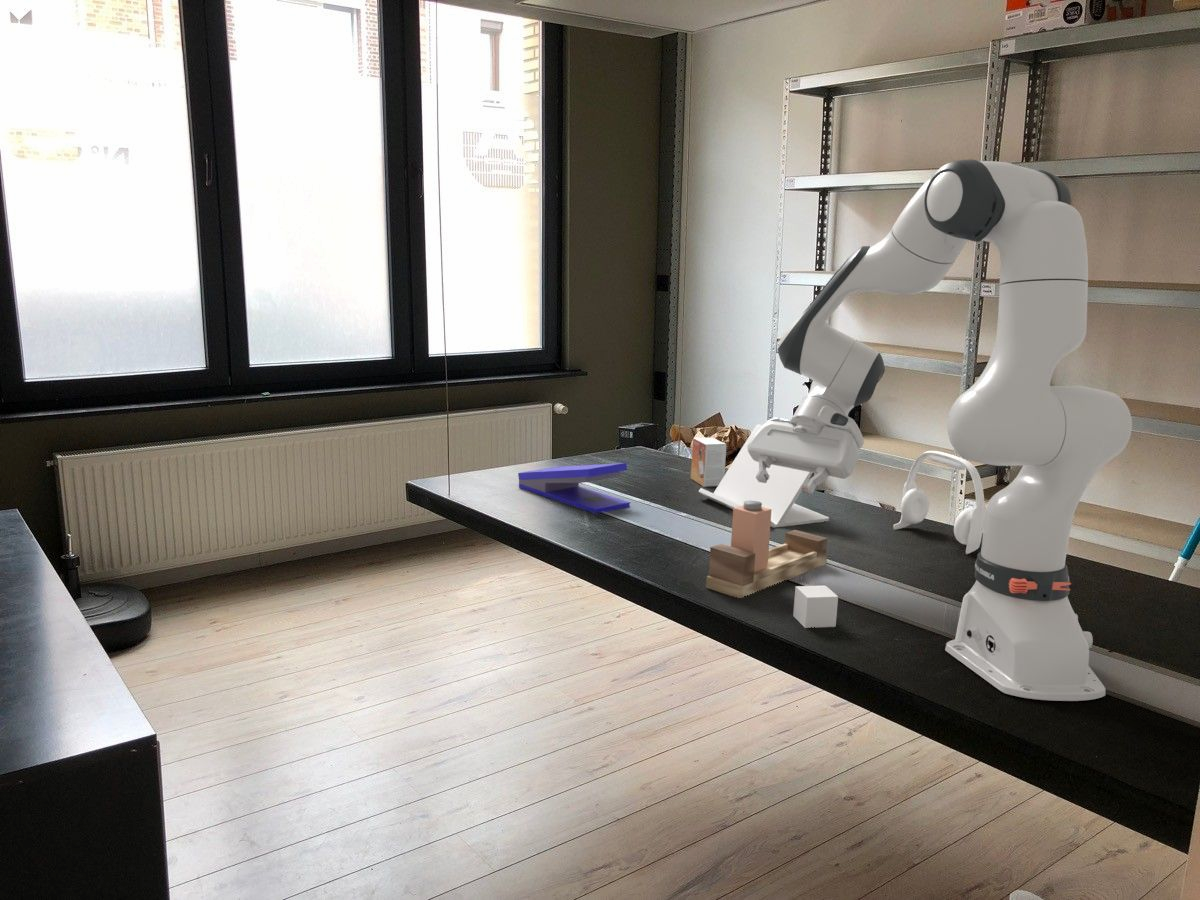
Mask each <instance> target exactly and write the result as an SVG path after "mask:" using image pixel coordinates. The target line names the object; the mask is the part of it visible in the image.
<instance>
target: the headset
mask: <svg viewBox="0 0 1200 900" xmlns="http://www.w3.org/2000/svg"><path fill="white" fill-rule="evenodd" d="M927 458H928V459H929V460H930V461H932V462H935V463H939V464H942V465H945V466H949V467H952V468H955V469H957V470H959V471H964V470H967V471H968V473H969V474H970V477H971V479H972V482H973V486H974V494H975V507H972V506H970V507H967V508H965V509H963V510H962V511H960V513H958V516H957V517H956V519H955V521H954V526H953V533H954V537H955V539H956V541H958V542H959V543H960V544H962V545H966V548H965V555H968V554H971V553H973V552H975V551H977V550H978V549H979V548H980V545H981V544H982V538H983V530H984V521H985V513H986V507H987V506H986V504H985V495H984V488H983V482H982V479H981V475H980V473H979V471H978V469H977V468H976V466H974V465H973V464H972V463H971V462H970V461H969V460H966V459H964V458H962V457H961V456H960V457H959V456H957V455H955V454H950V453H946V452H943V451H939V450H928V451H924V452H923V453H921V454H918V456H917V457H916V458H915V460H914V461H913V463H912V466H911V468H910V470H909V473H908V476H907V479H906V481H905V483H904V485H903V489H902V499H901V503H900V504H901V505H900V511H901V516H900V521H899V522H898V523H895V524H893V527H892V529H893V530H899V529H904V528H906V527H908V526H910V525H913V524H914V525H915V524H920V523H922V522H923V520H925V518H926V517H927V515H928V513H929V509H930V500H929V499H930V498H929V497H928V496H929V495H928V494H927V493H926V492H925V490H923V489H921V488H919V487H917V484H916V483H915V481H916V477H917V474H918V471H919V469H920V466H921V464H922V463H923V462H924V460H925V459H927Z"/></svg>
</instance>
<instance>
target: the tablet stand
mask: <svg viewBox="0 0 1200 900" xmlns="http://www.w3.org/2000/svg"><path fill="white" fill-rule="evenodd" d="M762 425H763V424H760V423H758V424H756V425H755V426H754V428H753V430H752V431H751V433H750V435H749V436H748V438H747V439H746V441H745V443H743V446H742V447H741V448H740V450H739V452H738V454H737V455H736V456H735V458H734V460H733V462H732V463H731V464H730V466H729V468H728V469H727V471H726V472H725V475H724V477H723V479H722V480H721V482H720V484H719V485H718V486H716V488H715V490H714V491H713V492H711V491H709V490H707V489H704V488H702V487H700V489H699V490H698V493H700V494H701V495H703V496H705V498H707V499H709V500H711V501H713V502H715V503H718V504H720V505H722V506H724V507H726V508H728V509H731V510H733V508H736V507H739V506H743V505H744V502H745V501H758V502H761V503H762V507H765V508H769V509H772V511H771V525H770V528H775V529H776V528H780V527H781V528H782V527H788V526H789V527H790V526H797V525H805V524H815V523H823V522H824V521H825V522H829V521H830V517H829V516H827V515H824V514H822V513H820V512H816V511H814V510H811V509H809V508H807V507H804V506H802V505H799V504H797V503H796V501H797V499H798V497H799V496H800V495H801V493H802V491H803V489H802V485H803V483H804V481H805V479H811V478H812V475H813V473H812V472H807V471H802V470H797V469H792V468H787V467H782V466H777V465H772V464H771V466H770V468H767V467H766V471H767V472H768V474H769V476H770V477H769V479H768V480H767V483H762V482H758V481H757V479H756V475H757V473H758V472H759V462H757V461H754V460H753V459H752V457H751V456H750V454H749V452H748V449H747V446H748V444H749V442H750V440H751V439H752V438H753V436H754V435H755V434H756V432H757V431H758V430H759V429H760V427H761V426H762Z"/></svg>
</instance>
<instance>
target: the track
mask: <svg viewBox="0 0 1200 900" xmlns="http://www.w3.org/2000/svg"><path fill="white" fill-rule="evenodd" d="M784 535H785V536H784V543H782V544H780V545H776V546H774V547H771V548H769V554H768V568H767V569H765V570H763V571H760V572H757V573H755V574H754V566H755V553H752V552H748V551H745V550H741V549H738V548H734V547H731V545H727V544H723V543H719V544H716V545H712V546H711V547H710V548H709V562H708V563H709V565H708V567H709V568H708V575H707V576H706V580H705V581H706V583H705V588H706V589H709V590H712V591H714V592H718V593H721V594H724V595H726V596H727V595H728V596H730V597H733V596H734V597H733V598H736V597H737V599H739V598H741V599H743V598H745V597H744V596H746V597H747V595H748V596H750V594H751V595H753V594H755V592H756V593H758V592H760V591H762V589H763V590H765V589H767V587H768V588H769V586H770V587H772V585H773V586H775V585H778V584H780V583H782V581H783V582H785V581H787V579H788V580H791V579H792V578H794V577H797V576H800V575H802V574H805V573H808V572H810V571H812V570H815V569H817V568H820V567H822V566H825V565H827V563H828V553H827V547H828V538H827V537H824V536H822V535H821V536H820V535H817V534H812V533H809V532H805V531H801V530H797V529H793V530H790V531H786V532H785V534H784ZM784 580H785V581H784ZM779 582H780V583H779ZM777 583H778V584H777ZM774 584H775V585H774ZM759 590H760V591H759ZM757 591H758V592H757ZM752 593H753V594H752ZM742 597H743V598H742Z"/></svg>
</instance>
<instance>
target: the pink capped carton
mask: <svg viewBox="0 0 1200 900" xmlns="http://www.w3.org/2000/svg"><path fill="white" fill-rule="evenodd" d="M732 510H733V511H732V523H731V524H732V526H731V537H730V538H731V539H730V541H731V542H730V546H731V547H734V548H738V549H741V550H745V551H748V552H752V553H755V566H754V574H755V573H757V572H760V571H763V570H765V569H767V568H768V554H769V549H770V539H771V538H770V537H771V526H770V525H771V511H772V509H769V508H765V507H762V503H761V502H758V501H745V502H744V505H743V506H739V507H736V508H733V509H732Z"/></svg>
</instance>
